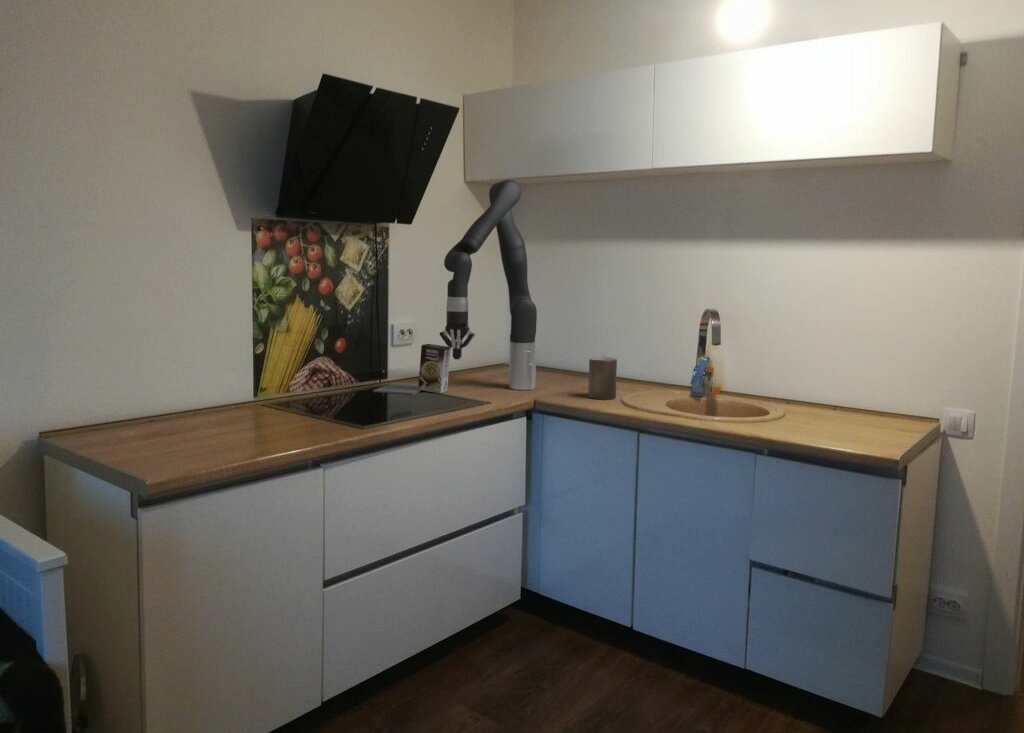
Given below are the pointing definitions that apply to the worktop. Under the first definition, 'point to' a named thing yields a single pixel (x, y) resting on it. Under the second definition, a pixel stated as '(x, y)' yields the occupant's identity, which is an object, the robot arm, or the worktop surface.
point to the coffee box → (434, 368)
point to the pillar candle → (602, 378)
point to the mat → (399, 388)
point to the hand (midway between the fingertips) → (456, 359)
